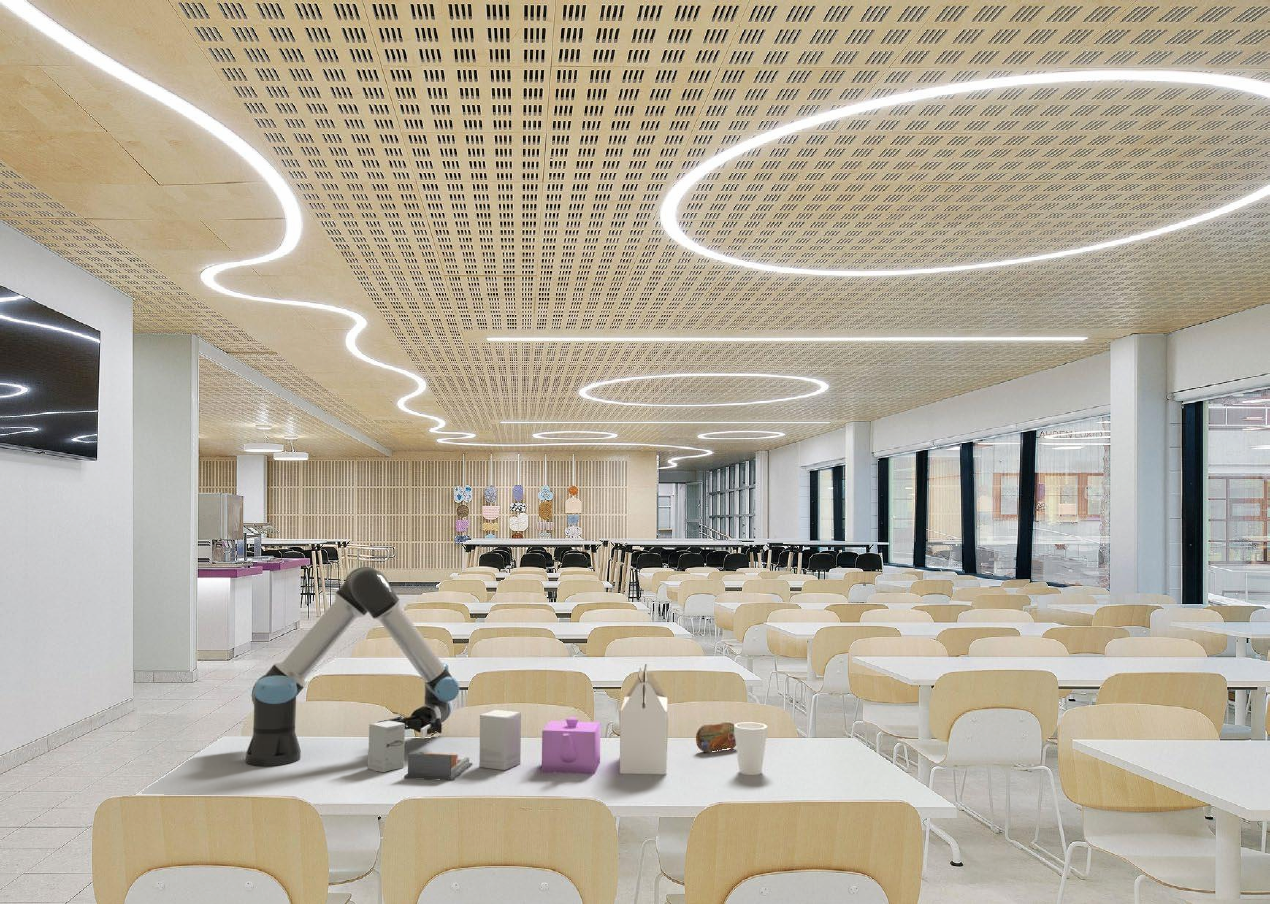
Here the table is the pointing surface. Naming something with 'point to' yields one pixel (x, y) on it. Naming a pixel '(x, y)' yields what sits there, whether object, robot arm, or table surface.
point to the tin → (716, 737)
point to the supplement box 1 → (386, 746)
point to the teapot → (571, 746)
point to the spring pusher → (453, 758)
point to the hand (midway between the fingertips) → (399, 732)
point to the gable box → (644, 728)
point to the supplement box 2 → (500, 739)
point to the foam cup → (750, 746)
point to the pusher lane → (435, 766)
